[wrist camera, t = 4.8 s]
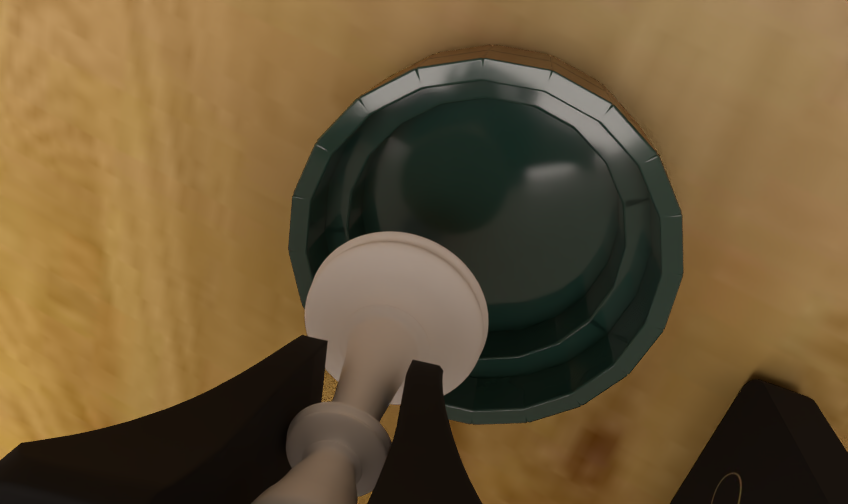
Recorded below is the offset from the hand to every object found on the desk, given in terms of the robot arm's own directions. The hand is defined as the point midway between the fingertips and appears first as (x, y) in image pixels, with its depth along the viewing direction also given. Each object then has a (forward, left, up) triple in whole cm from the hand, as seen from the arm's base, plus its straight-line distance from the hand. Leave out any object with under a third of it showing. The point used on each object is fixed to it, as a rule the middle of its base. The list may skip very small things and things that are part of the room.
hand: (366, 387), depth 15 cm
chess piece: (0, 0, -4) cm, 4 cm away
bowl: (+1, -2, -10) cm, 11 cm away
